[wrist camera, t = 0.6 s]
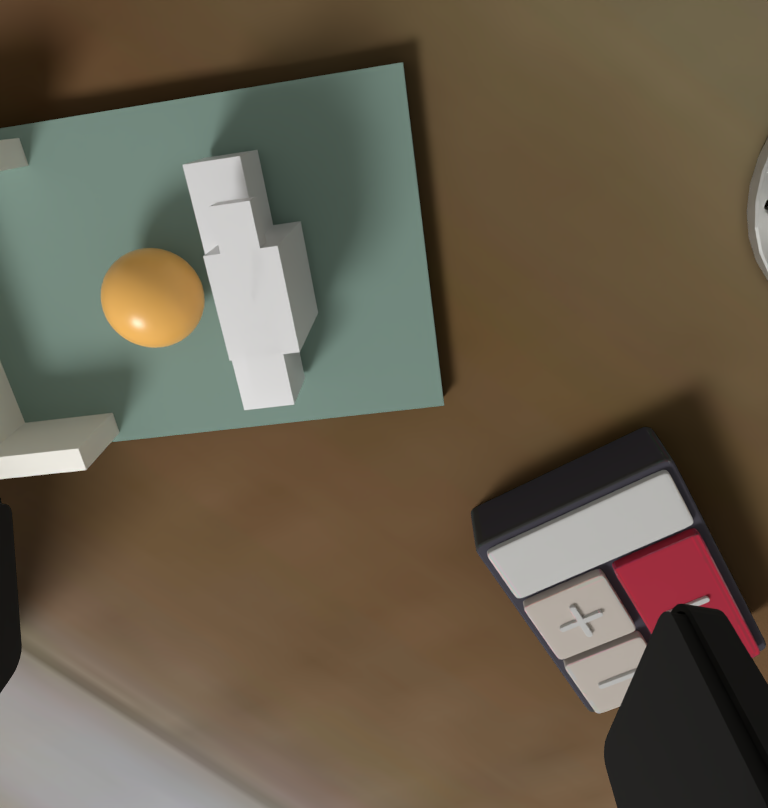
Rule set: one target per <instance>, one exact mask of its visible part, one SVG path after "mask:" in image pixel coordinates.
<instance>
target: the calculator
mask: <svg viewBox="0 0 768 808" xmlns="http://www.w3.org/2000/svg"><path fill="white" fill-rule="evenodd" d="M471 518H472V525H473V532H474V539H475V546H476V551H477V553H478V554H479V556H480V557H481V559H482V560H483V562H484V563H485V565H486V566H487V567H488V569H489V570H490V572H491V573H492V574H493V576H494V577H495V579H496V580H497V582H498V583H499V584H500V586H501V587H502V589H503V590H504V591H505V593H506V594H507V596H508V597H509V599H510V600H511V601H512V603H513V604H514V606H515V607H516V609H517V610H518V611H519V613H520V614H521V616H522V617H523V618H524V620H525V621H526V623H527V624H528V626H529V627H530V628H531V630H532V631H533V633H534V634H535V636H536V637H537V638H538V640H539V641H540V643H541V644H542V645H543V647H544V648H545V650H546V651H547V653H548V654H549V655H550V657H551V658H552V660H553V661H554V663H555V664H556V665H557V667H558V668H559V670H560V671H561V672H562V674H563V675H564V677H565V678H566V680H567V681H568V682H569V684H570V685H571V687H572V688H573V690H574V691H575V692H576V694H577V695H578V697H579V698H580V699H581V701H582V702H583V704H584V705H585V707H586V708H587V709H588V710H589V711H591V712H596V713H603V712H606V711H609V710H611V709H614V708H617V707H619V706H620V705H621V703H622V701H623V698H624V696H625V694H626V691H627V689H628V687H629V685H630V682H631V680H632V678H633V675H634V673H635V671H636V669H637V666H638V664H639V662H640V659H641V657H642V655H643V653H644V650H645V648H646V646H647V643H648V641H649V639H650V637H651V634H652V632H653V630H654V627H655V625H656V623H657V621H658V618H659V617H660V615H661V614H662V613H663V612H667V611H668V612H671V611H672V609H673V607H675V606H676V605H677V604H689V605H695V606H701V607H707V608H713V609H718V610H720V611H722V612H724V614H725V615H726V616H727V617H728V619H729V621H730V622H731V624H732V626H733V627H734V629H735V631H736V632H737V634H738V636H739V637H740V639H741V641H742V642H743V644H744V646H745V647H746V649H747V651H748V653H749V654H750V656H751V658H753V657H755V656H757V655H759V654H760V651H761V650H763V649H764V648H765V646H766V643H765V640H764V638H763V636H762V634H761V632H760V630H759V628H758V626H757V624H756V622H755V620H754V619H753V617H752V615H751V613H750V611H749V609H748V607H747V605H746V603H745V601H744V599H743V597H742V595H741V593H740V591H739V589H738V587H737V585H736V583H735V581H734V579H733V577H732V575H731V573H730V571H729V569H728V567H727V565H726V563H725V561H724V559H723V557H722V555H721V553H720V551H719V549H718V547H717V545H716V543H715V542H714V540H713V538H712V536H711V534H710V532H709V530H708V528H707V526H706V524H705V522H704V520H703V518H702V516H701V514H700V512H699V510H698V508H697V506H696V504H695V502H694V500H693V498H692V496H691V494H690V492H689V490H688V488H687V486H686V484H685V482H684V480H683V478H682V476H681V474H680V472H679V470H678V468H677V466H676V465H675V463H674V461H673V460H672V458H671V456H670V455H669V453H668V452H667V450H666V449H665V447H664V446H663V444H662V443H661V441H660V440H659V438H658V437H657V435H656V434H655V432H654V431H653V430H652V429H651V428H649V427H643V428H640V429H638V430H636V431H634V432H632V433H630V434H628V435H625V436H623V437H621V438H619V439H617V440H615V441H613V442H611V443H609V444H607V445H605V446H602V447H600V448H598V449H596V450H594V451H592V452H590V453H588V454H586V455H584V456H582V457H579V458H577V459H575V460H573V461H571V462H569V463H567V464H565V465H563V466H561V467H559V468H556V469H554V470H552V471H550V472H548V473H546V474H544V475H542V476H540V477H538V478H536V479H533V480H531V481H529V482H527V483H525V484H523V485H521V486H519V487H517V488H515V489H513V490H511V491H508V492H506V493H504V494H502V495H500V496H498V497H496V498H494V499H492V500H490V501H488V502H485V503H483V504H481V505H479V506H477V507H475V508H474V509H473V510H472V511H471Z"/></svg>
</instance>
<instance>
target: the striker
mask: <svg viewBox="0 0 768 808" xmlns="http://www.w3.org/2000/svg"><path fill="white" fill-rule="evenodd" d="M183 169H184V173H185V177H186V181H187V185H188V189H189V193H190V197H191V201H192V205H193V209H194V213H195V217H196V221H197V225H198V229H199V233H200V237H201V240H202V244H203V248H204V252H205V255H204V256H203V258H204V262H205V266H206V270H207V274H208V278H209V282H210V286H211V289H212V293H213V297H214V301H215V305H216V309H217V313H218V317H219V321H220V325H221V329H222V333H223V337H224V341H225V345H226V349H227V352H228V356H229V360H230V361H231V360H232V363H233V367H234V371H235V375H236V379H237V383H238V387H239V391H240V395H241V399H242V403H243V407H244V410H251V409H259V408H268V407H277V406H286V405H294V404H295V402H296V399H297V397H298V394H299V392H300V389H301V387H302V384H303V382H304V380H305V376H304V371H303V366H302V361H301V357H300V351H301V348H302V346H303V344H304V342H305V340H306V338H307V336H308V333H309V331H310V329H311V327H312V325H313V323H314V321H315V319H316V316H317V314H318V309H317V304H316V299H315V294H314V288H313V283H312V278H311V273H310V267H309V262H308V257H307V252H306V247H305V241H304V236H303V231H302V226H301V221H298V222H291V223H284V224H277V225H273V222H272V217H271V212H270V207H269V203H268V198H267V193H266V188H265V183H264V179H263V174H262V169H261V164H260V159H259V155H258V150H252V151H246V152H239V153H233V154H226V155H220V156H213V157H207V158H203V159H200V160H196V161H193V162H190V163H187V164H183Z"/></svg>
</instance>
